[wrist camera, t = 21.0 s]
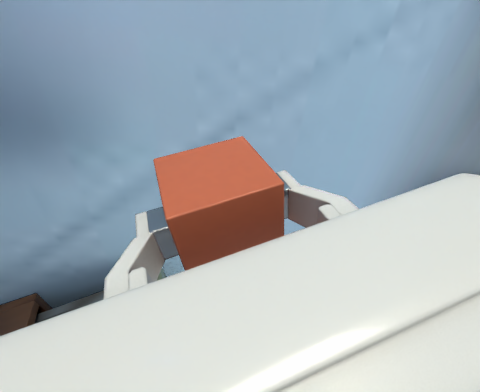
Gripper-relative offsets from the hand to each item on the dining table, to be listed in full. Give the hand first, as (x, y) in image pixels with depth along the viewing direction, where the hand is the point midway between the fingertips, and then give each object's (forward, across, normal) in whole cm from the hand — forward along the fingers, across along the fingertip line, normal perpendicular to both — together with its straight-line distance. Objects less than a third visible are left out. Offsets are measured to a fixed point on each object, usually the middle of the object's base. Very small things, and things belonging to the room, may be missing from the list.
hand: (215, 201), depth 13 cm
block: (+2, 0, 0) cm, 2 cm away
